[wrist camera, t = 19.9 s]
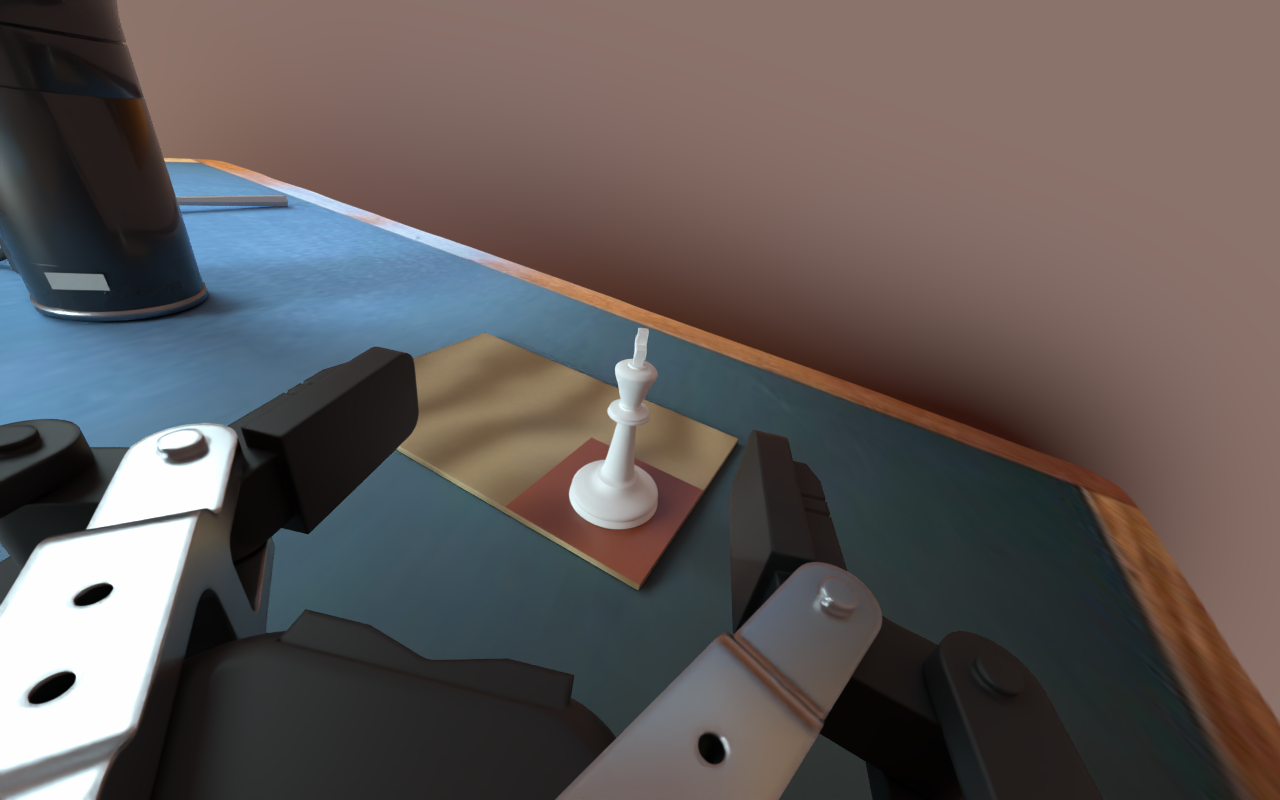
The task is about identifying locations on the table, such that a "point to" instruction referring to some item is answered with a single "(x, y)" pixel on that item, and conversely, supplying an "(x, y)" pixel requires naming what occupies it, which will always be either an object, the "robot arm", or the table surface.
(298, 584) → the table surface
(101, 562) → the robot arm
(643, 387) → the chess piece
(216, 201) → the wind turbine model
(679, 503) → the corner board
